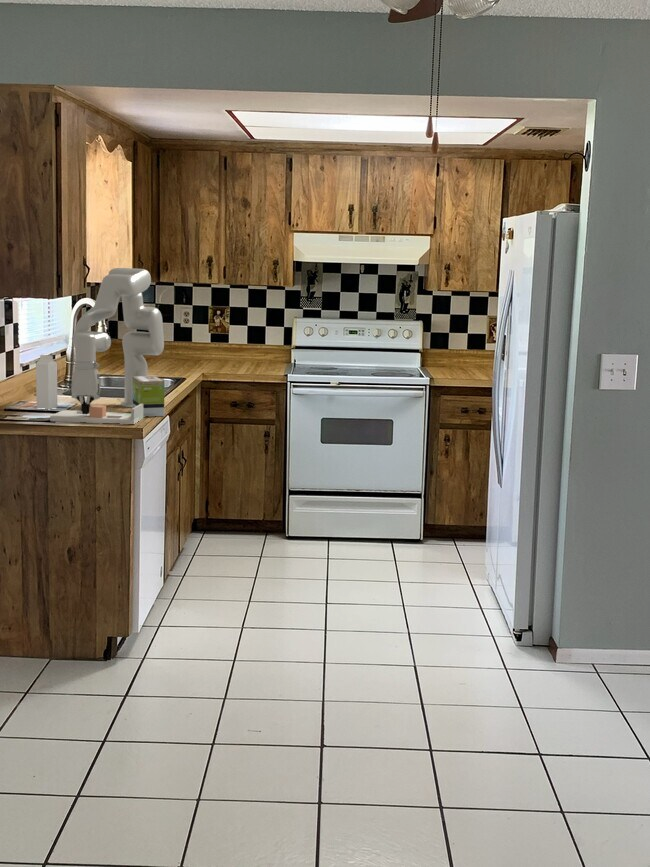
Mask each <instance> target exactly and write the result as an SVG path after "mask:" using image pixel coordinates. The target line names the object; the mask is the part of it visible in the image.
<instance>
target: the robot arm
mask: <svg viewBox="0 0 650 867" xmlns="http://www.w3.org/2000/svg"><path fill="white" fill-rule="evenodd" d="M151 283H152V277H151V274H150V272H149V271H148V270H147V269H145V268H133V267H132V268H129V267H115V268H111V269H110V270H109V271H108V274H107V275H104V277H103V278H102V280H101V283H100V287H99V290H98V292H97V293H98V294H97V296H96V299H95V303H94V305H93V306H92V307H91V308H90V309H88V310H87V311H86V312H85V313H84V314H83V315H82V316H81V317H80V318H79V320H78V321H77V323H76V326H75V329H74V331H73V332H74V333H73V337H72V344H73V346H74V358H75V359H74V364H75V365H74V367H75V368H74V369H73V371H72V377H71V386H70V387H71V388H70V389H71V391H70V392H71V398H72V399H74V400H75V399H76V400H77V401H78V402H79V403H80V404H81V405H80V408H81V409H80V411H81V412H82V414H89V407H90V406H91V404H92V402H93V401H95V400H99V399H100V398H101V396H100V394H101V381H100V379H101V378H100V372H99V370H98V369H97V368H99V367H100V363H98V362H97V356H96V355H97V353H96V352H100V353H101V352H106V351H107V350H109V349H110V348H111V345H112V340H111V339H112V338H111V337H110V335H109V334H108V333H107V332H102V331H92V330H91V331H90V330H89V329H90V328H91V327H92V326H94V325H95V324H97V323H99V322H102V321H104V320H107V319H109V318H112V317H114V316H115V315H116V312H117V309H118V305H119V302H120V298H121V300H122V301H121V302H122V314H123V315H122V316H123V322H124V325H125V327H126V328H127V329H130V330H131V329H132V331H128V332H126V333H125V334H124V335H123V336H122V341H121V342H122V349H123V358H124V401H122V402H120V406H121V407H125V408H131V409H132V408H133V383H132V380H133V377H139V376H148V367H149V366H148V362H147V360H146V358H145V357H144V356H160V355H161V354H162V353H163V351H164V350H165V349H164V348H165V337H164V326H163V325H164V324H163V315H162V313H161V311H160V310H159V308H157V307H153V306H145V305H144V298H143V292H145V291H146V290H148V288H149V287H150V285H151ZM133 330H136V331H133ZM137 330H142V331H137Z"/></svg>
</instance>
